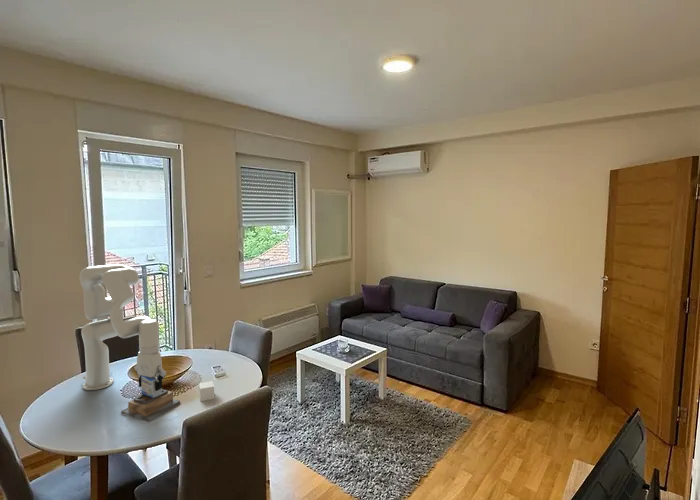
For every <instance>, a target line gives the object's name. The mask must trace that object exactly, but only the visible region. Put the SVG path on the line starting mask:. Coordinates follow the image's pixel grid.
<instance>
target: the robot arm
mask: <svg viewBox="0 0 700 500" xmlns="http://www.w3.org/2000/svg"><path fill="white" fill-rule="evenodd" d="M78 280H79V284H80V286H81V289H82V292H83V307H84V309H83V310H84V316H85V318H86V319H87V320H90V321H91V322H88V323H86V324H85V325H83V326H82V328H81V330H80V331H81V337H82V341H83V347H84V358H85V359H84V360H85V361H84V362H85V375H83V377H82V380H85V382H84V383H83V384H82V389H83V390H86V391H97V390H102V389H104V388H107V387H110V386H111V385H113V383H114V381H115V379H114V378H113V377H111V376H110V374H111V373H110V354H109V353H110V351H109V347H108V345H107V344H105V343H104V342H103V341H105V340H107V339H111V338H115V337H120V338H121V339H128V338H132V337H135V336H138V349H139V350H138V353H137V358H136V365H134V367H133V368H134V370H135V373H136V375H137V377H136V378H138V387H139V388H141V375H142V376H146V377H151V378H152V377H154V378H155V380H156V382H155V391H158V390H160V389H161V388H162V389H163V380H164V378H165V377H166V375H167V371H166V370H165V369H164V368H163V364H162V363H163V361H162V354H161V351H160V333H159V332H160V330H159V329H160V327H159V325H160V324H159V321H158V320H157V319H154V318H153V319H152V318H151V317H149V316H148V315H141V316H138V317H132V318H128V319H124V307H126V306H127V305H128V304H131V302H133V300H134V299H135V293H134V291H133V290H132V287H131V286H135V285H137V284H138V282H139V273H138V272H137V271H136V269H135V268H133V267H131V266H127V265H124V264H121V263H113V264H104V265H103V264H101V265H94V266H87V267H85V268H83V269H82V270H81V271H80V273H79V279H78ZM102 284H103V285H104V286H105V288H104V286H103V285H102ZM106 291H107V293H108V295H109V296H108V297H106ZM104 318H105V319H104ZM98 319H99V320H98ZM100 319H101V320H100ZM92 320H95V321H92ZM157 376H159V378H158V377H157Z"/></svg>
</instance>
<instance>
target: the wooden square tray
mask: <svg viewBox="0 0 700 500" xmlns="http://www.w3.org/2000/svg"><path fill="white" fill-rule="evenodd" d="M173 393H174V391H169V390H167V389H163V388H162V394H161V395H159V396H157V397H154V398H152V397H149V396H146V395H143V394H142V393H141V395H139V396H136V397H135V398H133V399H132V400H130V401H128V402H127V403H128V407H126V408H125V409H123V410H121V411H120V413H121V415H125V416H129V417H132V418H136V419H140V420H141V421H142V420H143V421H147V422H152V421H153V420H155V419H157V418H158V417H160V416H162V415H163V414H165V413H166V412H168V411H170V410H172V409H173V408H175V407H176V406H177V405H178V406H179V404H181V401H180V400H178V399H176V398H175V399H174V394H173Z"/></svg>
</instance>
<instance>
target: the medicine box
mask: <svg viewBox="0 0 700 500" xmlns="http://www.w3.org/2000/svg"><path fill="white" fill-rule="evenodd" d="M157 377H158V378H159V376H157ZM155 382H156V380H155V378H154V377H152V378H151V377H146V376H142V375H141V387H140V390H141V391H140V393H141V395H142V394H143V395H146V396H149V397H152V398H154V397H157V396H159V395H161V394H162V389H163V387H162V388H161V389H160V390H158V391H155Z"/></svg>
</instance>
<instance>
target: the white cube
mask: <svg viewBox="0 0 700 500" xmlns="http://www.w3.org/2000/svg"><path fill="white" fill-rule="evenodd" d="M198 388H199V389H198V391H199V392H198V393H199V395H198V396H199V400H200V402H203V401H209V400H214V399H215V385H214V381H212V380H211V381H206V382H199V385H198Z"/></svg>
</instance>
